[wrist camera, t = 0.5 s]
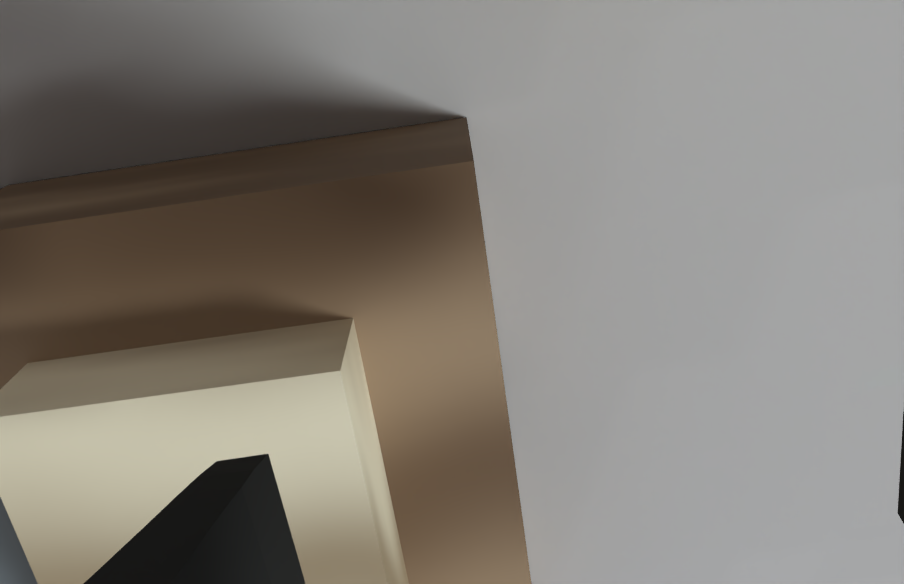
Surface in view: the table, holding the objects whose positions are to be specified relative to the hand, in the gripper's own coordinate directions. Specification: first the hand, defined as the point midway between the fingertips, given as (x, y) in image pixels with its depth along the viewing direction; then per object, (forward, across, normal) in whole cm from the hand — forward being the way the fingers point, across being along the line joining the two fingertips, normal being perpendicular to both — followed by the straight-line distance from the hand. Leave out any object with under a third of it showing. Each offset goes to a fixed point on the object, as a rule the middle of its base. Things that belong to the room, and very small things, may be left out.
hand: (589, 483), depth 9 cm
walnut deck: (+10, +6, +4) cm, 12 cm away
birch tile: (+6, +6, +4) cm, 9 cm away
